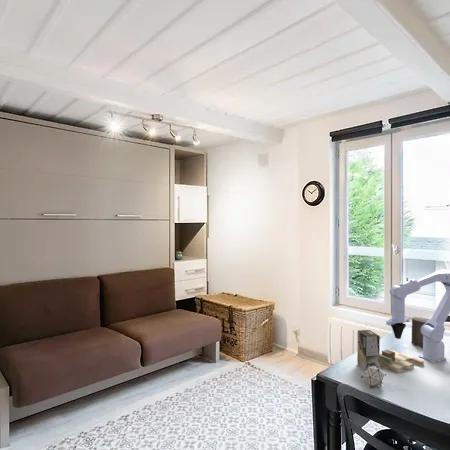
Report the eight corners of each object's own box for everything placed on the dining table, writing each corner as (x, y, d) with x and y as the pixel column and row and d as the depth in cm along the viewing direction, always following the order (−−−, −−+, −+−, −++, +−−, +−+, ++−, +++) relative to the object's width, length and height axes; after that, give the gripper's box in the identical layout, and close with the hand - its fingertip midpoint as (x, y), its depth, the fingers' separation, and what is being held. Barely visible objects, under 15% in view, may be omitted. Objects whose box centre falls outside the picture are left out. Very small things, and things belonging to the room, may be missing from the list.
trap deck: (393, 354, 176) (393, 345, 176) (423, 365, 161) (423, 355, 161) (367, 360, 167) (367, 350, 167) (397, 372, 153) (397, 362, 153)
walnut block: (387, 358, 165) (387, 349, 165) (395, 361, 161) (395, 352, 161) (381, 359, 163) (381, 350, 163) (389, 362, 159) (389, 353, 159)
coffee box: (380, 372, 153) (380, 336, 153) (366, 373, 153) (366, 336, 153) (369, 364, 162) (370, 329, 162) (356, 364, 162) (356, 329, 162)
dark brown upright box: (410, 344, 189) (410, 317, 189) (412, 340, 197) (413, 313, 197) (431, 349, 184) (431, 320, 184) (432, 343, 192) (433, 316, 192)
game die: (378, 396, 139) (390, 383, 133) (357, 387, 141) (368, 373, 135) (378, 378, 146) (389, 364, 140) (358, 369, 148) (368, 355, 142)
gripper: (400, 307, 178) (400, 333, 178) (380, 310, 171) (380, 337, 171) (413, 310, 172) (413, 338, 172) (393, 313, 165) (393, 342, 165)
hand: (397, 338), depth 171 cm, fingers closed
